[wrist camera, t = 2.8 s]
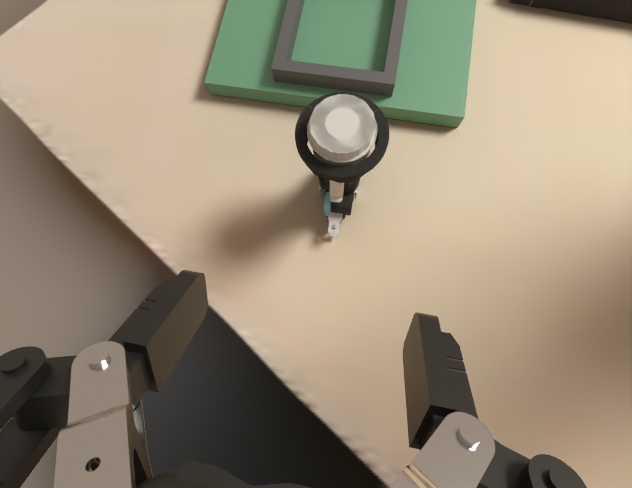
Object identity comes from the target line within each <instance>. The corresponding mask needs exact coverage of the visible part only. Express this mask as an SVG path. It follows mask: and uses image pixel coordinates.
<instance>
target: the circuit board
mask: <svg viewBox="0 0 632 488" xmlns="http://www.w3.org/2000/svg"><path fill="white" fill-rule="evenodd" d="M475 7H476V0H228V2H227V5H226V9H225V12H224V15H223V19H222V22H221V26H220V29H219V33H218V36H217V40H216V43H215V47H214V50H213V54H212V57H211V61H210V64H209V68H208V71H207V74H206V78H205V81H204V83H205V85H206V87H207V89H208V91H209V92H210V94H215V95H222V96H229V97H237V98H244V99H251V100H259V101H266V102H273V103H281V104H288V105H295V106H302V107H307V106H308V105H309V104H310V103H311V102H313V101H314V100H316V99H317V98H319V97H321V96H323V95H326V94H330V93H334V92H351V93H356V94H359V95H362V96H364V97H366V98H368V99H369V100H371V101H372V102H374V103H375V104H376V105H377V106H378V107H379V108H380V110H381V111H382V112H383V114H384V115H385V118H390V119H398V120H405V121H412V122H419V123H427V124H434V125H441V126H449V127H456V128H458V126H459V125H460V123H461V122H462V120H463V119H464V115H465V105H466V95H467V85H468V76H469V66H470V56H471V46H472V36H473V27H474V17H475Z"/></svg>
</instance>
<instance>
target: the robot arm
mask: <svg viewBox="0 0 632 488" xmlns="http://www.w3.org/2000/svg"><path fill="white" fill-rule="evenodd" d="M207 308H208V300H207V291H206V282H205V276H204V274H203V273H198V272H192V271H187V270H183V271H181V272H180V273H179V274H178V276H177V277H176V278H175V279H174V280H173V282H171V281H166V282H164V283H162V284H161V285H159V286H157V287H156V288H154V289H153V290H152V291H151V293H150V294H149V295H148V296H147V297H146V298H145V301H143V302H142V303H141V304H140V305H139V306H138V309H136V310H135V311H134V312H133V313H132V314H131V315H130V317H129V318H128V319H127V320H126V321H125V322H124V323H123V325H122V326H121V327H120V328H119V329H118V330H117V331H116V332H115V334H114V335H113V336H112V337H111V338H110V339H109V340H108V341H106V342H100V343H96V344H94V345H91V346H89V347H88V348H86V349H84V350H83V351H82V352H81V353H79V354H78V355H77V356H66V357H54V358H46V355H45V354H44V352H43V350H41V349H40V348H37V347H22V348H18V349H15V350H12V351H10V352H7V353H5V354H3V355H2V356H0V430H1V429H2V428H3V427H4V428H3V429H2V430H1V431H0V488H20V487H21V485H22V484H23V483H24V481H25V480H26V478H27V477H28V476H29V474H30V473H31V472H32V470H33V469H34V468H35V466H36V465H37V463H38V462H39V461H40V459H41V458H42V457H43V455H44V454H45V452H46V451H47V449H48V448H49V447H50V446H51V444H52V443H53V442H54V440H55V439H56V437H57V436H58V443H57V456H56V466H55V478H54V488H310V487H306V486H301V485H297V484H293V483H284V484H270V485H257V486H251V485H249V484H247V483H245V482H243V481H242V480H240V479H238V478H237V477H235V476H233V475H232V474H230V473H228V472H227V471H225V470H223V469H221V468H220V467H218V466H214V465H209V464H205V463H201V462H197V461H192V460H188V459H184V460H183V462H182V464H181V466H180V469H179V470H172V471H168V472H164V473H161V474H158V475H155V476H154V477H152V472H151V467H150V462H149V458H148V452H147V443H146V435H145V426H144V417H143V408H142V402H141V399H142V397H143V395H144V394H145V392H146V391H147V390H150V391H155V392H159V391H160V390H161V388H162V386H163V385H164V383H165V381H166V380H167V378H168V376H169V375H170V373H171V372H172V370H173V368H174V366H175V365H176V363H177V362H178V360H179V358H180V357H181V355H182V354H183V352H184V350H185V349H186V347H187V345H188V344H189V342H190V341H191V339H192V337H193V336H194V334H195V332H196V331H197V329H198V327H199V326H200V324H201V323H202V321H203V319H204V317H205V315H206V312H207ZM403 365H404V379H405V393H406V407H407V421H408V435H409V447H411V448H416V449H420V452H419V453H418V455H417V456H416V457H415V459H414V460H413V461H412V462H411V464H410V465H409V466H407V467H406V468H405V469H404V470H403V471H402V472H401V474H400V475H399V476H398V477H397V479H396V480H395V481H394V483H393V484H392V485H391V487H390V488H587V487H586V486H585V484H584V482H583V481H582V479H581V478H580V477H579V476H578V474H577V473H576V472H575V471H574V470H573V469H572V468H571V467H569V466H568V465H567V464H566V463H564V462H563V461H561V460H559V459H557V458H555V457H553V456H550V455H545V454H540V455H536V456H534V457H533V458H532V459H531V460H530V459H528V458H526V457H524V456H522V455H520V454H518V453H516V452H514V451H512V450H510V449H508V448H507V447H505V446H503V445H501V444H500V443H498V442H497V441H496V440H494V439H493V437H492V435H491V433H490V431H489V430H488V429H487V427H486V426H485V425H484V424H483V423H482V422H481V421H480V420H479V419H478V416H477V413H476V409H475V405H474V401H473V397H472V393H471V390H470V386H469V382H468V378H467V374H466V373H465V371H466V370H465V366H464V362H463V358H462V354H461V350H460V346H459V345H458V343H457V342H456V341H455V339H454V338H453V336H452V335H451V334H450V333H445V332H441V329H440V324H439V320H438V317H437V316H433V315H427V314H422V313H415V314H414V317H413V319H412V322H411V325H410V328H409V331H408V333H407V336H406V339H405V342H404V348H403ZM11 418H12V419H11ZM10 419H11V420H10ZM9 420H10V421H9ZM8 421H9V422H8ZM7 422H8V423H7ZM6 423H7V424H6ZM64 426H65V427H64Z"/></svg>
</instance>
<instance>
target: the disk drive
mask: <svg viewBox="0 0 632 488" xmlns="http://www.w3.org/2000/svg"><path fill="white" fill-rule="evenodd" d="M508 2H511V3H516V4H522V5H528V6H531V7H537V8H545V9H551V10H557V11H563V12H569V13H575V14H580V15H586V16H592V17H598V18H603V19H609V20H616V21H621V22H627V23H632V0H508Z"/></svg>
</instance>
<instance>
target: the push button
mask: <svg viewBox="0 0 632 488" xmlns="http://www.w3.org/2000/svg"><path fill="white" fill-rule="evenodd" d="M308 140H309V142H310V144H311V146H312V148H313V153H314V155H313V154H312V153H311V151H310V150H309V148H308V146H307V142H308ZM295 141H296V146H297V150H298V152H299V155H300V157H301V158H302V160H303V161H304V162H305V164H306V165H307V166H308V167H309V168H310V170H311V171H312V172H313V173H314V174H315V175H317V176H319V184H320V185H319V194H321V189H326V195H325V198H324V206H323V209H324V216H328V223H329V228H328V235H329V236H333V237H337V236H338V232H339V225H340V224H342V218H345V215H350V214H351V209H352V201H353V194H354V193H355V199H356V195H357V189H358V185H359V180H360V177H362V176H363V175H364V174H365V173H367V172H369V171H370V170H371V169H373V168H374V167H375V166H376V165H377V164H378V163H379V162H380V160H381V159H382V157H383V155H384V154H385V151H386V148H387V145H388V141H389V127H388V123H387V120H386V118H385V115H384V114H383V112H382V111H381V110H380V108H379V107H378V106H377V105H376V104H375V103H374V102H372V101H371V100H369V99H368V98H366V97H364V96H362V95H359V94H356V93H351V92H334V93H330V94H326V95H323V96H321V97H319V98H317V99H316V100H314V101H313V102H311V103H310V104H309V105H308V106H307V107H306V108H305V109H304V110H303V112H302V113H301V115H300V117H299V119H298V121H297V124H296V129H295ZM374 143H375V149H374V151H373V152H372V153H371V155H370V156H369V157H368V155H369V153H370V149H371V148H372V146H373V145H374ZM367 157H368V158H367ZM332 228H335V230H333V229H332Z"/></svg>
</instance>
